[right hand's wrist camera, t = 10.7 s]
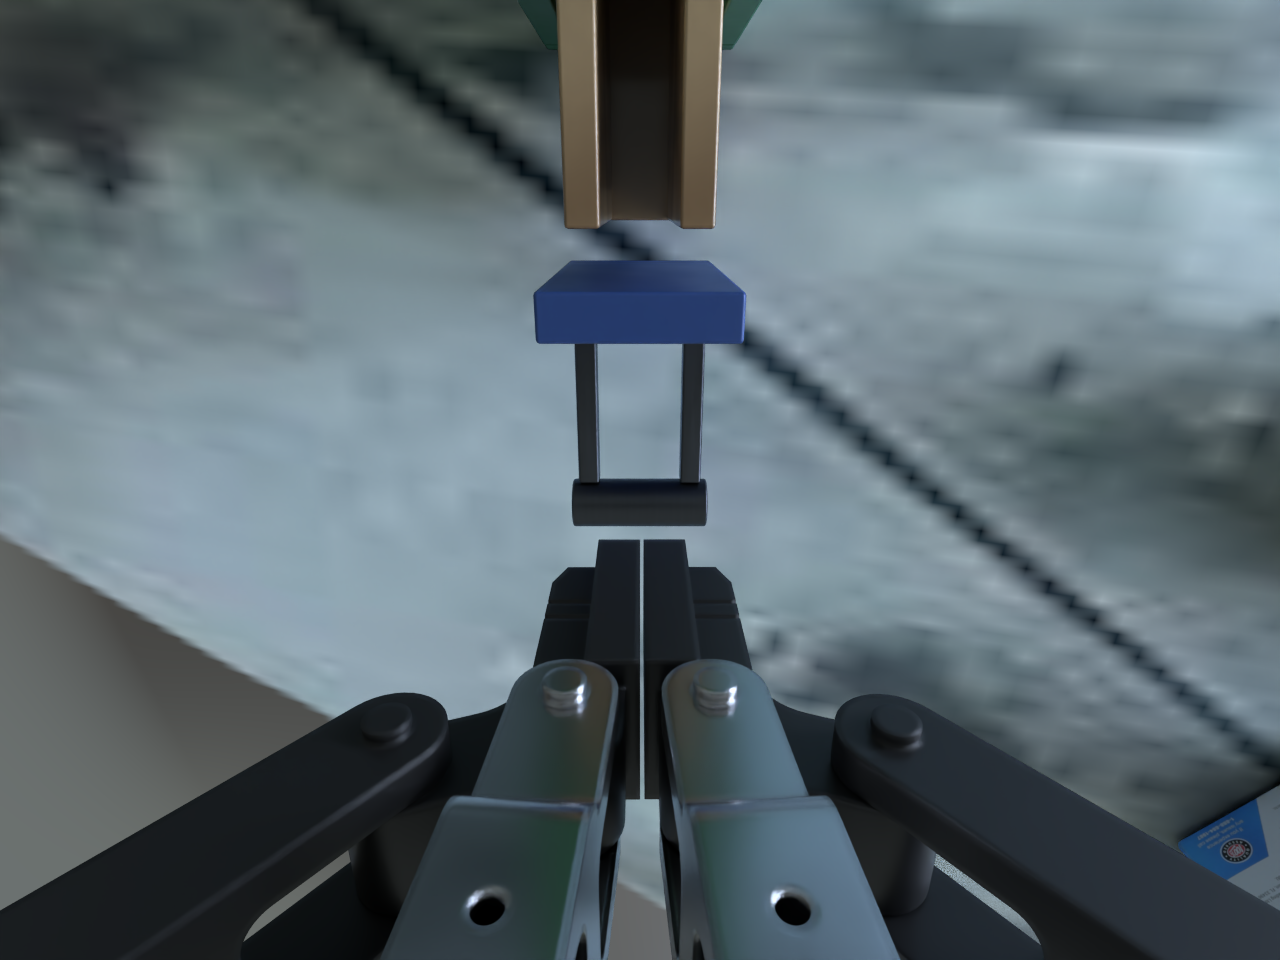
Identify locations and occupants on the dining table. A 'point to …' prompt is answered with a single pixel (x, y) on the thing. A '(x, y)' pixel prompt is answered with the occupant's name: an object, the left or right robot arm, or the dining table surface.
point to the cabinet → (543, 17)
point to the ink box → (1243, 847)
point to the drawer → (639, 190)
